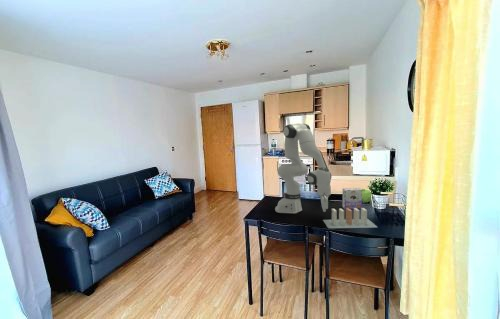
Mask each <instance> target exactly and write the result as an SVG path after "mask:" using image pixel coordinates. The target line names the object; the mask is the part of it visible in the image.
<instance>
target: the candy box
mask: <svg viewBox="0 0 500 319" xmlns="http://www.w3.org/2000/svg"><path fill="white" fill-rule="evenodd" d="M362 189H363V188H360V187H353V188H352V187H350V188H344V187H343V188H342V209H343V210H346V208H349V209H350V210H354V208H357V209H358V210H361V208H363V201H362Z"/></svg>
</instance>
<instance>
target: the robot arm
mask: <svg viewBox="0 0 500 319" xmlns="http://www.w3.org/2000/svg"><path fill="white" fill-rule="evenodd" d="M283 135H284V156H285V158H286V159H288V160H290V162H291V163H285V164H282V165H279V166H278V168H277V175H278V176H279V177H280V178H281V179H282V180H283V181H284V183H285V189H286V192H282V193H283V198H281V199H280V200H279V201H277V202H278V203H277V206H275V208H274V210H275V212H276V213H279V214H298V213H299V212H301V211H303V208H302V202H301V196H302V195H301V194H302V193H301V188H300V187H301V186H300V183H299V182H298V181H296V180H295V179H294V178H295V177H301V176H305V175H306V174H307V175H306V180H307V183H308V184H309V185H311V186H315V185H316V186H317V187H316V192H317V193H316V195H318V196H319V197H320V203H321V208H322V212H324V213H325V212H326V211H327V210H328V209H329V197H330V196H331V195H332V186H331V181H332V174H331V171H330V169H329V167H328V166H327V163H326V160H325V157H324V155H323V153H322V151H321V150H320V148H318V146H317V145H316V142H315V138H314V135H313V132H312V131H311V127H310V126H309V124H307V123H294V124H286V125H285V126H284V128H283ZM299 148H300V151H301V153H302V154H303V155H306V156H308V157H311V158H313V159H314V160H315V162H316V164H317V166H318V168H317V169H315V170H313V171H310V172H308V166H307V165H306V163H304V162H303V161H302V159H301V157H300V151H299Z"/></svg>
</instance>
